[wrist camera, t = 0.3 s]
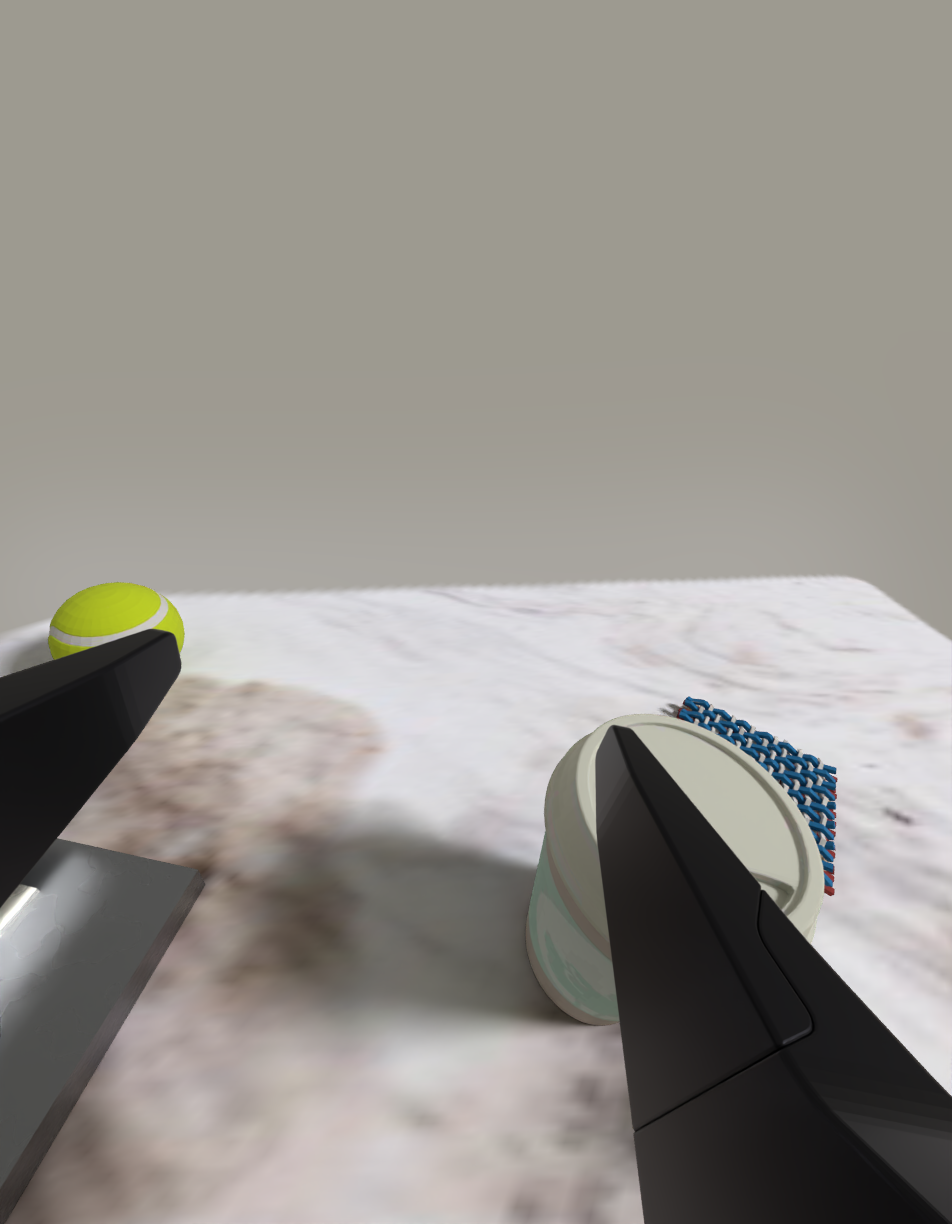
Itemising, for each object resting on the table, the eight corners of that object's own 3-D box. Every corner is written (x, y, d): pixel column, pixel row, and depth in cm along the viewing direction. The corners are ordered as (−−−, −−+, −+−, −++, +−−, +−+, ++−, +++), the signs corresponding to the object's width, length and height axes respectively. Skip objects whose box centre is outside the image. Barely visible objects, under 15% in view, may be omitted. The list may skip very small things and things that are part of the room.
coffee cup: (458, 946, 20) (503, 801, 13) (559, 819, 26) (629, 669, 19) (628, 1142, 16) (823, 1082, 9) (704, 941, 22) (862, 808, 15)
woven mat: (824, 916, 24) (847, 901, 23) (636, 797, 28) (648, 778, 27) (829, 783, 31) (847, 766, 30) (679, 704, 36) (690, 686, 35)
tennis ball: (215, 669, 32) (193, 590, 28) (109, 730, 27) (63, 644, 23) (159, 629, 34) (131, 551, 30) (52, 678, 29) (2, 593, 25)
